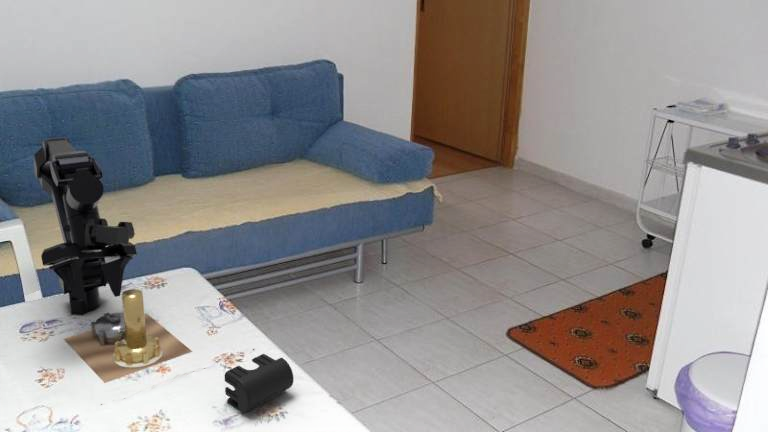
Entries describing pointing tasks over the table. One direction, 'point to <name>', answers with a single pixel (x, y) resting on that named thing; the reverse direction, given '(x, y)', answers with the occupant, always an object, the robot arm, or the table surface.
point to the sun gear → (109, 329)
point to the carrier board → (111, 369)
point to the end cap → (258, 382)
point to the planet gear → (135, 332)
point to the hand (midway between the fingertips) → (100, 298)
